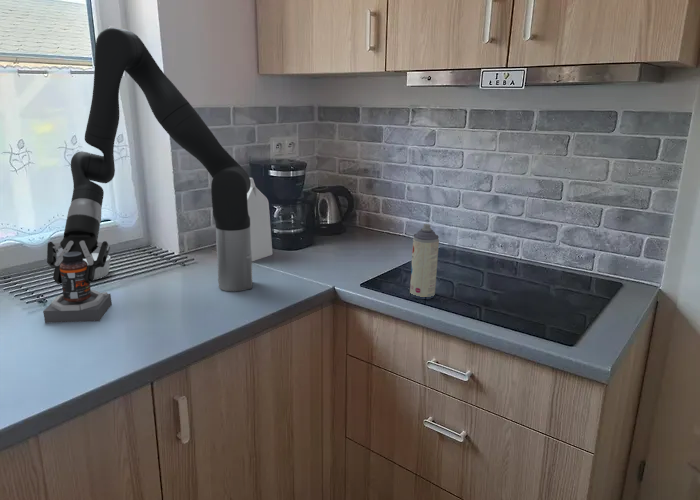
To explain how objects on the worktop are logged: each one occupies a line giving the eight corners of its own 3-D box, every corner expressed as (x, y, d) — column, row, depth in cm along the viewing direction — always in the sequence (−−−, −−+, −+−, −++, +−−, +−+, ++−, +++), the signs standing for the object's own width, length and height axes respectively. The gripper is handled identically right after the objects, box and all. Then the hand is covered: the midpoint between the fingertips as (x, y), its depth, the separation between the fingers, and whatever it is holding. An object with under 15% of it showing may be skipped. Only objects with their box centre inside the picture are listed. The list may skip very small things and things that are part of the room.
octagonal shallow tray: (112, 304, 134) (110, 289, 133) (99, 321, 124) (97, 305, 123) (61, 305, 132) (59, 290, 131) (44, 323, 122) (42, 307, 121)
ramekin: (118, 276, 154) (116, 258, 153) (78, 285, 146) (76, 267, 145) (102, 267, 161) (100, 250, 160) (63, 275, 154) (61, 258, 152)
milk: (221, 255, 175) (218, 177, 167) (247, 247, 184) (244, 173, 176) (247, 262, 168) (245, 181, 161) (272, 254, 177) (271, 177, 170)
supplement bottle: (80, 304, 124) (74, 258, 121) (58, 301, 125) (51, 256, 122) (97, 295, 129) (91, 251, 126) (75, 292, 131) (69, 249, 127)
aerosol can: (415, 289, 150) (420, 220, 144) (438, 294, 146) (443, 224, 140) (405, 296, 144) (409, 225, 138) (428, 301, 141) (434, 229, 135)
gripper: (47, 213, 128) (33, 276, 120) (109, 212, 130) (100, 275, 122) (58, 228, 134) (46, 289, 126) (118, 228, 136) (109, 288, 128)
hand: (72, 282), depth 124 cm, fingers closed on supplement bottle, 6 cm apart
